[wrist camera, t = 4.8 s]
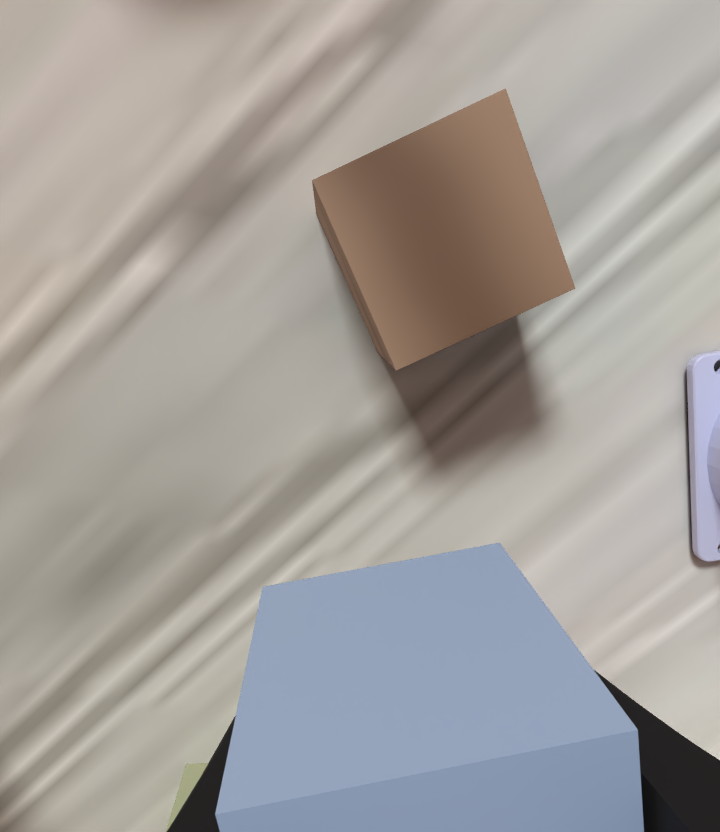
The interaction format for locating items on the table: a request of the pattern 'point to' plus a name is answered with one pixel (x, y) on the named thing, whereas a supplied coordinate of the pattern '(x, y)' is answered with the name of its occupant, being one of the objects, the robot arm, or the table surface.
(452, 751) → the slate blue cube
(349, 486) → the table surface
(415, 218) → the walnut cube
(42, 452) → the table surface
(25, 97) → the table surface
